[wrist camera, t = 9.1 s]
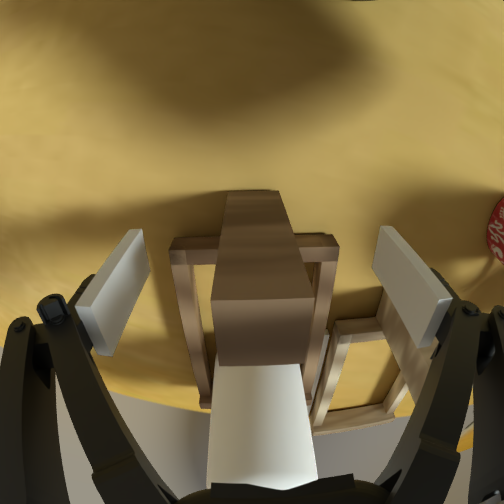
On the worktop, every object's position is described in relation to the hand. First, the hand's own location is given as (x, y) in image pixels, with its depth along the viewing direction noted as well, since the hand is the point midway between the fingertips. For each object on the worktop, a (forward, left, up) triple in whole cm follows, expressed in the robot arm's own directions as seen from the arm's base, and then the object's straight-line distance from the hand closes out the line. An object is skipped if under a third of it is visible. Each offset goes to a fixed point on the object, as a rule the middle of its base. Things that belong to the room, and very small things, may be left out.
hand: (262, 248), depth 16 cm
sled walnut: (+10, 0, -6) cm, 12 cm away
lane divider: (+21, +6, -6) cm, 22 cm away
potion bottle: (+16, 0, -7) cm, 17 cm away
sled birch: (+19, +13, -6) cm, 24 cm away
